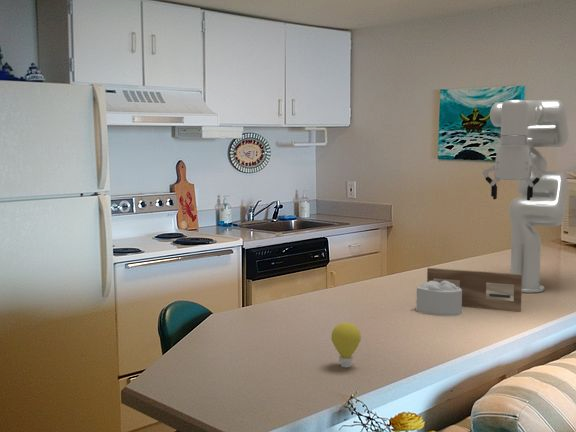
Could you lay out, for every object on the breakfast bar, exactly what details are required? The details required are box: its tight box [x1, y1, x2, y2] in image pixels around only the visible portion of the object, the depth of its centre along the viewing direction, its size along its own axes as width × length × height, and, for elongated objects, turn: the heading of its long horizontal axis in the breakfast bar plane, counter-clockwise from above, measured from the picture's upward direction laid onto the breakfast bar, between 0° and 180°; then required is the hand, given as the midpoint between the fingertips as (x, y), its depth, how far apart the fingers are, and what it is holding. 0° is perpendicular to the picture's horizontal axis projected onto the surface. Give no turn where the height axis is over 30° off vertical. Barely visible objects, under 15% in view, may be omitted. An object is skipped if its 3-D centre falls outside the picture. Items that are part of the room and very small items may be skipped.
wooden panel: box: [426, 267, 522, 313], centre depth 212 cm, size 2×28×11 cm, turn 66°
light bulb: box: [330, 321, 362, 368], centre depth 157 cm, size 7×7×10 cm
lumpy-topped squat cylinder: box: [416, 281, 463, 317], centre depth 207 cm, size 10×13×9 cm
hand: (511, 199), depth 207 cm, fingers open, 9 cm apart
